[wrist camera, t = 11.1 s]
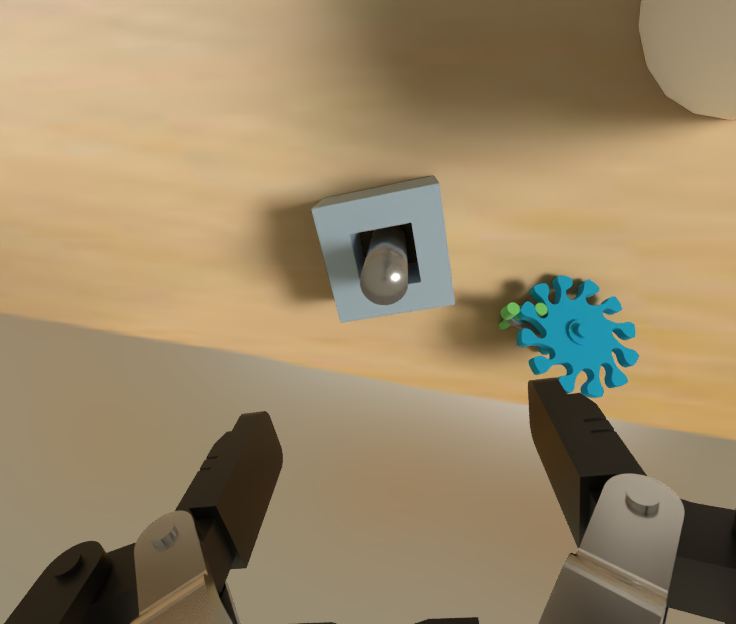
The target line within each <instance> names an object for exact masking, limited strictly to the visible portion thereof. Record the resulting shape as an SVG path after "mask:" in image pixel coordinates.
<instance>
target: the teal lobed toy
mask: <svg viewBox="0 0 736 624" xmlns="http://www.w3.org/2000/svg"><path fill="white" fill-rule="evenodd" d="M572 284H573V281H572V279H571V278H569V277H567V276H560V275H559V276H558V277H556V278H555V279H554V280H553V282H552V285H553V287H554V290H555V293H556V300H555V304H552V303H550V302H549V300H548V295H549V287H548V285H547V284H546V283H541V284H538V285H536V286H534V287H533V288H531V289H530V290H529V293H530V295H531V297H532V298H534V299H535V300H536V301H537V303H538V304H536V305H535V306H534V305H533V304H532V303H531V302H529V301H527V302H526V303H524V304H523V305H522V306H519V305H518V304H516V303H514V302H511V303H509V304H508V305H507V306H505V307H504V308H503V309H502V310H501V311H500V315H501V317H502V318H503V319H504V320H503V321H501V322H500V323H499V328H500V329H502V330H504V329H506V328H508V327H509V326H511V325H512V326H514V327H516V328H518V329H520V331H519V332H518V333H517V345H518V346H520V347H526V346H538V347H539V351H540V353H541V354H543V355H547V354H549V355H550V358H549V359H547V358H545V357H542V356H537V357H535V358H532V359H530V360H529V365H530V368H531V370H532V372H533V373H534V375H539V374H542V373H545V372H547V371H548V369H549V368H550V367H551V366H552V365H557V364H561V365H563V366H564V367H565V368H566V370H567V374H566V376H561V377H558V378H557V379H558V380H559V382H560V383H561V385H562V386H563V388H564V390H565V391H566V393H571V392H572V391H573V390H574V387H575V379H576V377H577V375H578V374H579V373H580V372H581V371H584V372H585V373H586V374H587V377H588V379H587V381H586V382H585V383H584V384H583V385H582V386H581V394H582V395H584V396H586V397H591V398H597V397H602V396H603V393H604V390H603V387H602V385H601V383H600V379H599V371H600V366H603V367H604V368H605V371H606V375H605V384H606V385H607V387H608V388H614V387H618V386H622V385H624V384H626V383H627V382H628V380H627V377H626V376H625V374H623V373H622V372H621V371H620V370H619V369H618V367H617V366H616V364H615V363H614V360H613V357H612V353H611V351H613V352H614V353H615V354H616V357H617V360H618V362H619V364H620V365H621V366H623V367H625V368H626V367H629V366H633V365H634V364H635V363H636V362H637V360H638V357H639V355H638V353H637V352H636V351H634V350H632V349H628V348H626V347H624V346H622V345H621V344H620V343H619V342H618V341H617V340H616V339H615V338H614V336H613V335H612V331H613V332H614V333H615V334H616V335H617V336H618V337H619V338H620V339H622V340H628V339H631V338H633V337H635V326H634V324H633V323H631V322H626V323H614V322H612V321H610V320H607V319H606V318H605V317H604V316H603V312H604V313H606V314H609V315H612V314H614V313H617V312H619V311H621V310H622V307H621V304H620V302H619V301H618V299H617V298H616V297H610V298H608V299H606V300H605V301H603V302H602V303H601V305H595V306H592V305H590V304H588V303H587V301H586V297H590V296H592V295H594V294H596V293H597V292H598V291H599V287H598V286H597V285H596V284H595V283H594V282H592V281H590V280H589V279H588V280H586V281H585V282H583V283H581V284H580V285H579V287H578V294H577V296H576V298H575V299H574V300H571V299H569V298H568V297H567V295H566V291H567V289H569V288H570V287H571V286H572ZM541 316H543V318H541Z"/></svg>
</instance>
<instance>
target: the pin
mask: <svg viewBox="0 0 736 624" xmlns="http://www.w3.org/2000/svg"><path fill="white" fill-rule="evenodd" d="M360 287H361V290H362V293H363V294H364V296H365V297H366V298H367V299H368V300H369V301H371V302H373V303H375V304H378V305H391V304H394V303H396V302H398V301H399V300H400V299H402V297H403V296H404V295H405V293H406V291H407V289H408V265H407V244H406V237H405V234H404V232H403V231H402V230H401V229H400V228H399V227H397V226H390V227H385V228H380V229H376V230H375V232H374V233H373V235H372V237H371V241H370V245H369V248H368V252H367V256H366V259H365V263H364V266H363V270H362V274H361V277H360Z"/></svg>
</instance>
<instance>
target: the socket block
mask: <svg viewBox="0 0 736 624" xmlns="http://www.w3.org/2000/svg"><path fill="white" fill-rule="evenodd" d="M311 210H312V214H313V218H314V222H315V226H316V230H317V234H318V237H319V241H320V245H321V249H322V253H323V257H324V261H325V265H326V268H327V272H328V276H329V280H330V284H331V288H332V292H333V296H334V300H335V303H336V307H337V311H338V315H339V319H340V323H342V322H348V321H354V320H361V319H367V318H374V317H380V316H386V315H393V314H399V313H405V312H412V311H418V310H425V309H431V308H437V307H444V306H450V305H455V299H454V291H453V284H452V276H451V269H450V261H449V253H448V246H447V238H446V230H445V223H444V215H443V208H442V200H441V192H440V185H439V182H438V181H437V179H436V178H435V176H429V177H425V178H420V179H415V180H410V181H405V182H400V183H396V184H391V185H386V186H381V187H376V188H371V189H366V190H362V191H357V192H352V193H347V194H342V195H337V196H332V197H328V198H323V199H322V200H321V201H320V202H319V203H318V204H317V205H315V206H314V207H313V208H312V209H311ZM406 223H412V229H413V235H414V241H415V248H416V254H417V260H418V262H417V263H411V264H407V265H408V289H407V291H406V293H405V295H404V296H403V297H402V299H400V300H399V301H398V302H396V303H394V304H391V305H378V304H375V303H373V302H371V301H369V300H368V299H367V298H366V297H365V296H364V294H363V293H362V290H361V287H360V277H361V274H362V270H363V266H364V263H365V258H364V254H363V249H362V244H361V240H360V235H359V232H364V231H369V230H375V229H380V228H385V227H390V226H396V225H401V224H406Z"/></svg>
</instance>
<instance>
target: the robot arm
mask: <svg viewBox="0 0 736 624" xmlns="http://www.w3.org/2000/svg"><path fill="white" fill-rule="evenodd" d="M528 398H529V418H530V428H531V434H532V438H533V441H534V444H535V447H536V449H537V452H538V454H539V456H540V459H541V461H542V463H543V466H544V468H545V471H546V473H547V475H548V478H549V480H550V483H551V485H552V487H553V490H554V492H555V495H556V497H557V499H558V502H559V504H560V506H561V509H562V511H563V514H564V516H565V518H566V521H567V523H568V525H569V528H570V530H571V533H572V535H573V537H574V540H575V542H576V545H577V547H578V551H577V553H576V554H573V553H570V554H569V555H568V557H567V558H566V560H565V562H564V565H563V567H562V569H561V572H560V574H559V576H558V579H557V581H556V583H555V586H554V588H553V590H552V593H551V595H550V598H549V600H548V602H547V605H546V607H545V609H544V612H543V614H542V616H541V619H540V621H539V624H666V620H667V616H668V611H669V608H673V609H677V610H680V611H684V612H688V613H692V614H695V615H699V616H702V617H707V618H710V619H714V620H717V621H721V622H725V624H736V510H731V509H725V508H719V507H714V506H708V505H702V504H697V503H692V502H689V501H686V500H682V499H680V498H679V497H678V496H677V495H676V493H674V491H672V490H671V489H670V488H669V487H668V486H666V485H664V484H663V483H661V482H659V481H657V480H655V479H653V478H650V477H648V476H647V475H646V474H645V472H644V471H643V470H642V468H641V467H640V465H639V464H638V462H637V461H636V460H635V458H634V457H633V455H632V454H631V453H630V451H629V450H628V448H627V447H626V445H625V444H624V443H623V441H622V440H621V438H620V437H619V435H618V434H617V433H616V432H614V428H613V427H612V426H611V424H610V423H609V421H608V420H606V417H605V416H604V414H603V413H602V411H601V410H600V408H599V407H598V406H597V404H596V403H594V402H593V401H591V400H590V399H588V398H587V397H585V396H584V395H582V394H581V393H575V394H567V393H566V391H565V390H564V388H563V386H562V385H561V383H560V382H559V380H558V379H557V378H556V377H555V378H547V379H538V380H530V381H529V382H528ZM282 463H283V454H282V448H281V445H280V443H279V440H278V437H277V434H276V432H275V429H274V426H273V424H272V421H271V418H270V416H269V414H268V413H267V412H266V411H263V412H256V413H255V412H254V413H246V414H242V415H241V416H240V417H239V419H238V421H237V423H236V424H235V426H234V428H233V430H232V431H230V432H226V433H225V434H224V435H223V436H222V437H221V438H220V439H219V440H218V441H217V442H216V443H215V444H214V446H213V447H212V449H211V450H210V452H209V454H208V456H207V459H206V460H205V461H204V462H203V464H202V466H201V468H200V471H198V472H197V474H196V476H195V478H194V479H193V481H192V483H191V484H190V486H189V488H188V489H187V491H186V493H185V494H184V496H183V498H182V500H181V501H180V503H179V505H178V506H177V508H176V510H175V511H174V512H170V513H167V514H165V515H163V516H161V517H159V518H158V519H157V520H155V521H154V522H152V523H151V524H150V525H149V526H148V527H147V528H146V529H145V530H144V531H143V532H142V533H141V535H140V536H139V538H138V539H137V542H136V543H133V544H130V545H127V546H125V547H122V548H119V549H116V550H114V551H111V552H109V553H106V552H105V550H104V549H103V547H102V546H101V545H100V544H99V543H98V542H96V541H87V542H83V543H80V544H78V545H75V546H73V547H71V548H70V549H68V550H66V551H65V552H63V553H62V554H61V555H59V556H58V557H57V558H56V559H55V560H54V561H53V562H51V563H50V564H49V566H48V567H47V568H46V569H45V570H44V571H43V573H42V574H41V575H40V577H39V578H38V579H37V581H36V582H35V583H34V585H33V586H32V587H31V589H30V590H29V591H28V593H27V594H26V595H25V597H24V598H23V599H22V601H21V602H20V603H19V605H18V606H17V607H16V609H15V610H14V611H13V612H12V614H11V615H10V617H9V618H8V619H7V621H6V622H5V623H4V624H241V623H240V620H239V617H238V614H237V611H236V608H235V604H234V602H233V598H232V595H231V592H230V589H229V586H228V584H227V582H226V579H227V576H228V573H229V571H230V569H241V568H246V567H247V565H248V562H249V559H250V557H251V553H252V551H253V548H254V545H255V542H256V539H257V537H258V533H259V530H260V528H261V525H262V522H263V519H264V517H265V514H266V511H267V508H268V505H269V502H270V500H271V497H272V494H273V491H274V488H275V485H276V482H277V479H278V477H279V474H280V471H281V468H282ZM300 624H301V623H300ZM302 624H336V623H332V622H329V623H302ZM415 624H479V620H478V617H472V618H446V619H445V618H443V619H427V620H424V621H421V622H419V623H415Z"/></svg>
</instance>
